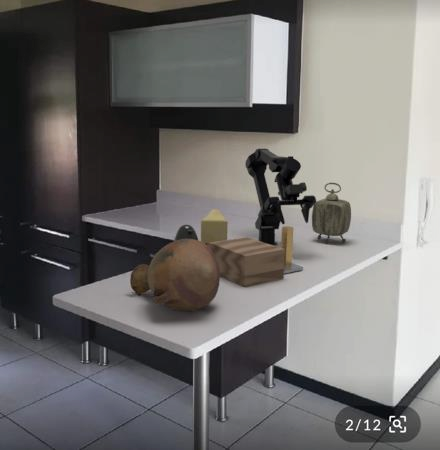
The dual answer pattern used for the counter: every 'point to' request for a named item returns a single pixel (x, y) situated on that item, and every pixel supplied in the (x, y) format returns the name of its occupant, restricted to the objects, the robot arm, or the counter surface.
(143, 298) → the counter surface
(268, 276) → the brown wooden block
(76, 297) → the counter surface
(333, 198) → the tabletop clock
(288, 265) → the grey plate wooden post
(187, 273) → the jug
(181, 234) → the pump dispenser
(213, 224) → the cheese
